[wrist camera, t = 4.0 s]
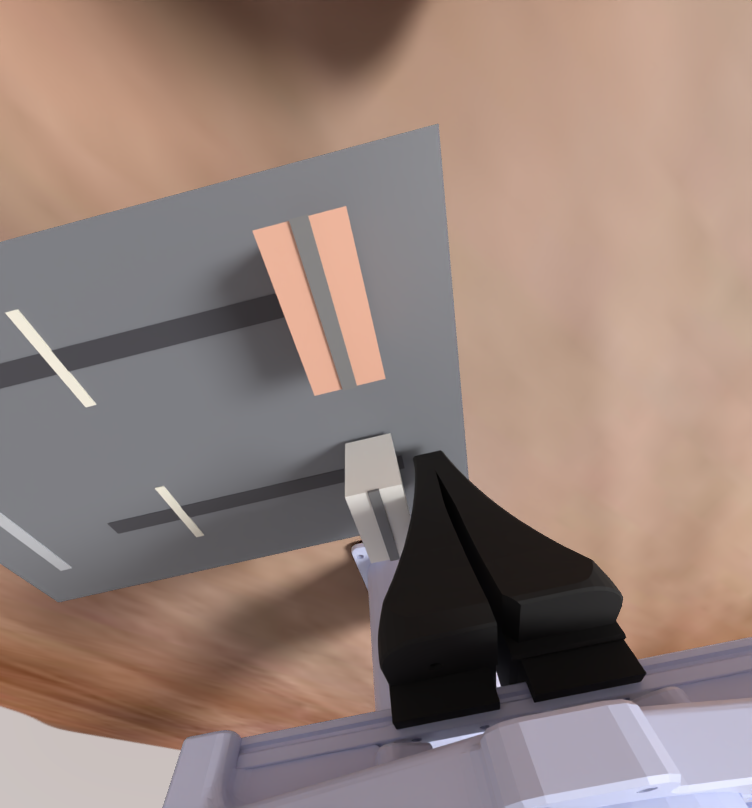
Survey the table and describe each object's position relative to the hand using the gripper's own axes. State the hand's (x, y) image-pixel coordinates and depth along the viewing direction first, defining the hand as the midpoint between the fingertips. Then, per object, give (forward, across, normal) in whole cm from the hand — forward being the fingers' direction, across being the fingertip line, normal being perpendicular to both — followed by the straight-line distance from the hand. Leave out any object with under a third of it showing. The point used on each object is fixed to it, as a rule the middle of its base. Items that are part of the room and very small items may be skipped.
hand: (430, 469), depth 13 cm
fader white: (+1, +2, 0) cm, 2 cm away
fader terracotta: (+1, +2, -8) cm, 8 cm away
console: (+4, +10, -4) cm, 11 cm away
